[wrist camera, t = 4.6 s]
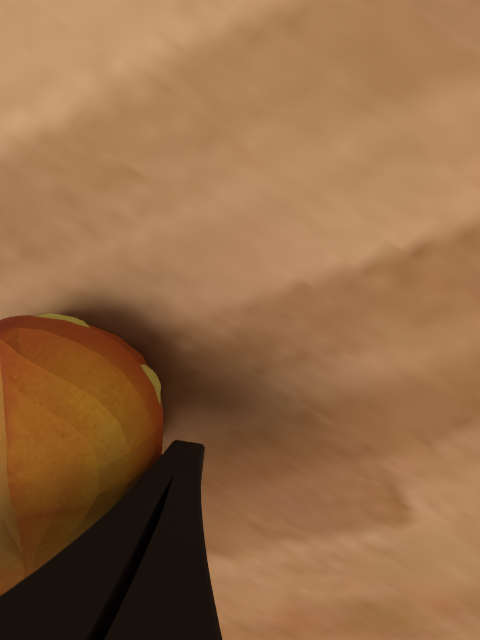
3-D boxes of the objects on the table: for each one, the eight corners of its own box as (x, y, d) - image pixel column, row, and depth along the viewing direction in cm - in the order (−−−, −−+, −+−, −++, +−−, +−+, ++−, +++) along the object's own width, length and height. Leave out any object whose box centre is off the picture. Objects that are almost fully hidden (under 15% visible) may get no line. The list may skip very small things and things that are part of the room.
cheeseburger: (-34, 379, 15) (-547, 550, 5) (110, 269, 15) (-88, 212, 5) (85, 495, 16) (-118, 813, 6) (214, 391, 16) (219, 534, 6)
